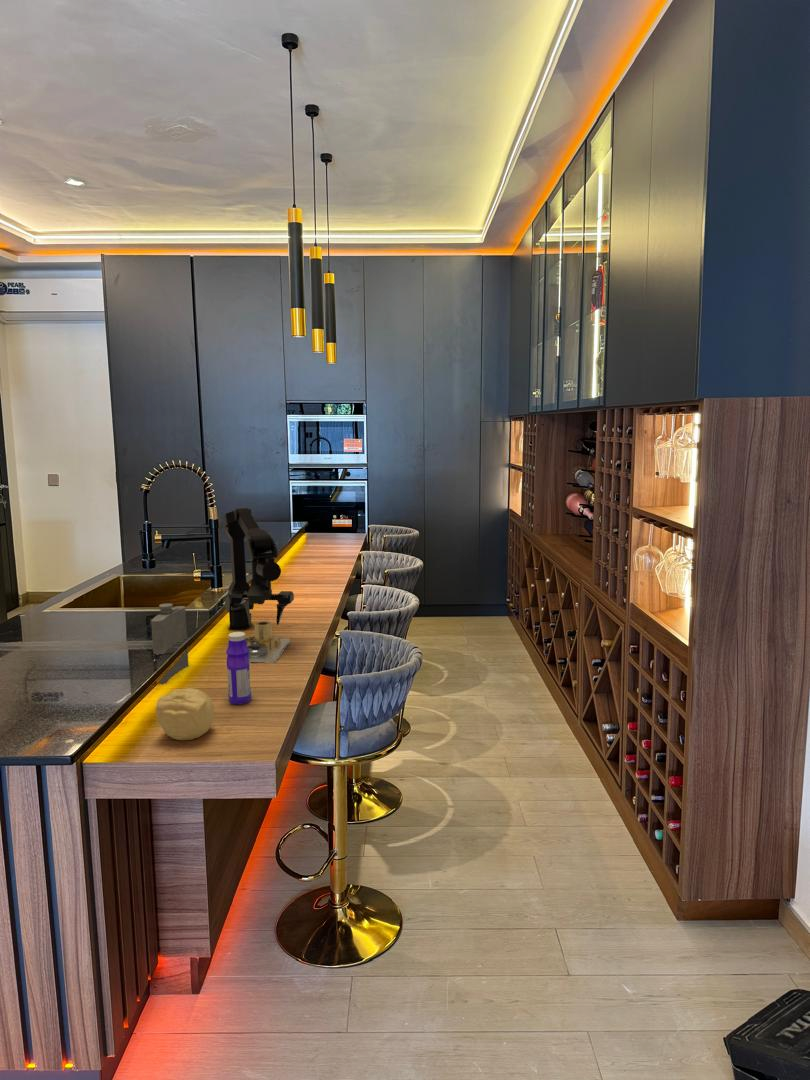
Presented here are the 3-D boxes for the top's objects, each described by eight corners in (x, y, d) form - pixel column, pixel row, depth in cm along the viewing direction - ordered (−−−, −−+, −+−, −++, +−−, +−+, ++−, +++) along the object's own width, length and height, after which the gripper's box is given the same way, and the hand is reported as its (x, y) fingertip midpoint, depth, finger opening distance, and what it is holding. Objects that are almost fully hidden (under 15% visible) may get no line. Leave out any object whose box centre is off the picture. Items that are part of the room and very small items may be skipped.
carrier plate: (227, 662, 206) (226, 645, 205) (247, 641, 226) (246, 626, 225) (274, 663, 205) (274, 646, 204) (290, 642, 225) (289, 626, 224)
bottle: (252, 704, 175) (249, 636, 172) (229, 707, 174) (225, 639, 171) (250, 693, 182) (247, 628, 179) (227, 696, 180) (224, 630, 178)
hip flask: (164, 684, 189) (159, 612, 186) (150, 683, 190) (145, 611, 186) (190, 664, 205) (186, 597, 201) (177, 664, 205) (173, 597, 202)
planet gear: (243, 648, 215) (242, 627, 214) (252, 638, 225) (251, 618, 224) (276, 648, 214) (275, 628, 213) (283, 638, 225) (283, 619, 223)
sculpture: (150, 744, 154) (147, 697, 152) (176, 721, 165) (173, 678, 163) (200, 747, 152) (197, 700, 150) (222, 724, 163) (220, 680, 162)
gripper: (223, 580, 209) (225, 631, 211) (285, 581, 208) (287, 632, 210) (234, 572, 220) (236, 621, 222) (293, 573, 219) (295, 621, 221)
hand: (263, 624), depth 219 cm, fingers open, 9 cm apart
